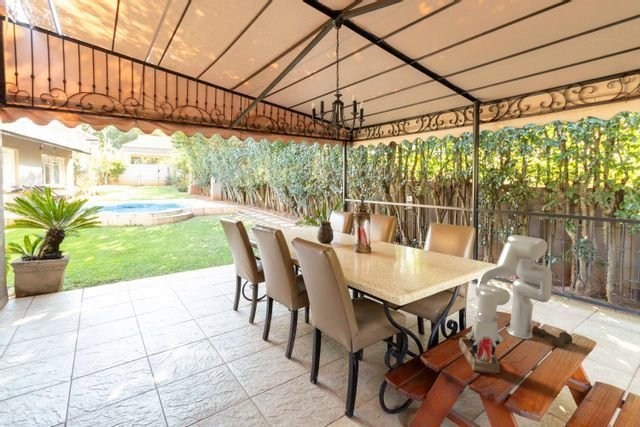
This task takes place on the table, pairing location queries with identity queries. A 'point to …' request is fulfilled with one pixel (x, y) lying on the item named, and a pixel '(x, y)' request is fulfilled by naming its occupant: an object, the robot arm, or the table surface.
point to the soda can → (484, 350)
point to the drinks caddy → (475, 364)
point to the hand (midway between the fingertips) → (483, 352)
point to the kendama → (554, 337)
